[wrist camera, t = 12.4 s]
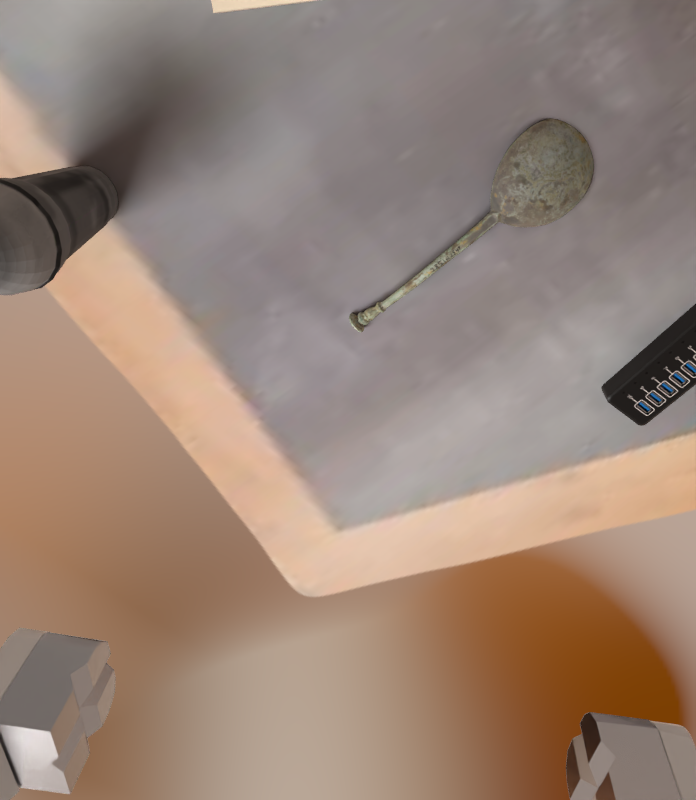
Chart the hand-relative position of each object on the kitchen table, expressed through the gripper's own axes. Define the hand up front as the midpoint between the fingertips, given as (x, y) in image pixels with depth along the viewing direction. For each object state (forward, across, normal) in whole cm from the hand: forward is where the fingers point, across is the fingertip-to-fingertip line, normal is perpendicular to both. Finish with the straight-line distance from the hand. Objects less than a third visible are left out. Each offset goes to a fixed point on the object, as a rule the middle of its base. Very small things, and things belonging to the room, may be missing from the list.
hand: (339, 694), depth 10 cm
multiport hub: (+42, -24, +10) cm, 49 cm away
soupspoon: (+42, -5, +4) cm, 42 cm away
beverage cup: (+41, +25, +4) cm, 48 cm away
